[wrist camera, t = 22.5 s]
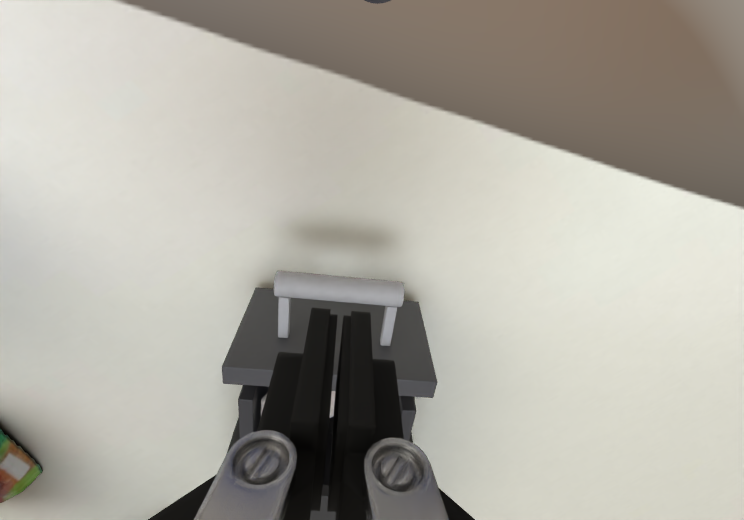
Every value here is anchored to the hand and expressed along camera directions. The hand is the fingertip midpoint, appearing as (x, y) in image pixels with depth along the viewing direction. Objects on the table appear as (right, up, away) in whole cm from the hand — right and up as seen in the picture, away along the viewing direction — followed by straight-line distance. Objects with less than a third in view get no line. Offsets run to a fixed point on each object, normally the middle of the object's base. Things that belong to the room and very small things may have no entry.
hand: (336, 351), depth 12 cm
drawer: (-2, -4, +19) cm, 19 cm away
